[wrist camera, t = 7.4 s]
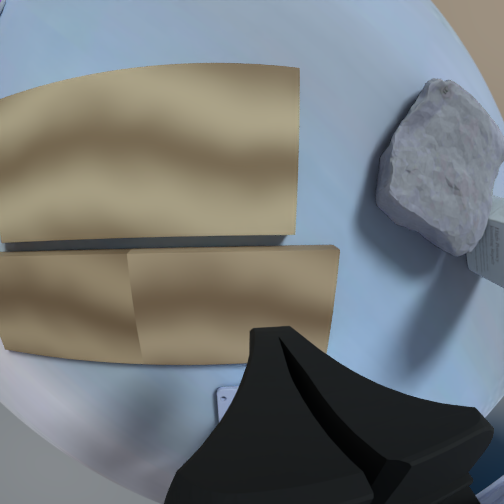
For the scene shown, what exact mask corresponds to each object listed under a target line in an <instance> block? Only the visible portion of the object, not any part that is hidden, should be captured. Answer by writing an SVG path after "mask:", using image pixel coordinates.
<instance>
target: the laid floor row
mask: <svg viewBox="0 0 504 504" xmlns="http://www.w3.org/2000/svg"><path fill="white" fill-rule="evenodd" d="M339 255H340V249H338V248H337V247H335V246H334V245H289V246H229V247H178V248H132V249H90V250H52V251H17V252H0V337H1V339H2V342H3V345H4V348H5V349H6V350H12V351H18V352H24V353H30V354H36V355H43V356H51V357H59V358H67V359H76V360H87V361H98V362H112V363H129V364H156V365H210V364H238V363H247V362H248V358H249V335H250V330H251V329H252V328H261V327H278V326H291V327H292V328H293V329H295V330H296V331H297V332H298V333H300V334H301V335H302V336H303V337H305V338H306V339H307V340H308V341H310V342H311V343H312V344H314V345H315V346H316V347H317V348H319V349H320V350H321V351H323V352H324V353H327V347H328V341H329V334H330V328H331V321H332V314H333V307H334V299H335V291H336V283H337V274H338V265H339Z"/></svg>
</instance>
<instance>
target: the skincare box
mask: <svg viewBox="0 0 504 504" xmlns="http://www.w3.org/2000/svg"><path fill="white" fill-rule="evenodd" d="M466 255H467V264H468V268H469V270H470V271H472V272H474V273H476V274H478V275H480V276H482V277H484V278H486V279H488V280H490V281H491V282H493V283H495V284H497V285H499V286H501V287H503V288H504V198H500V197H496V196H492V208H491V212H490V216H489V218H488V222H487V226H486V228H485V231H484V234H483V236H482V237H481V239H480V240H479V241H478V243H477V245H476V246H475V248H474V249H473V250H472V251H471V252H470V253H466Z"/></svg>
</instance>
